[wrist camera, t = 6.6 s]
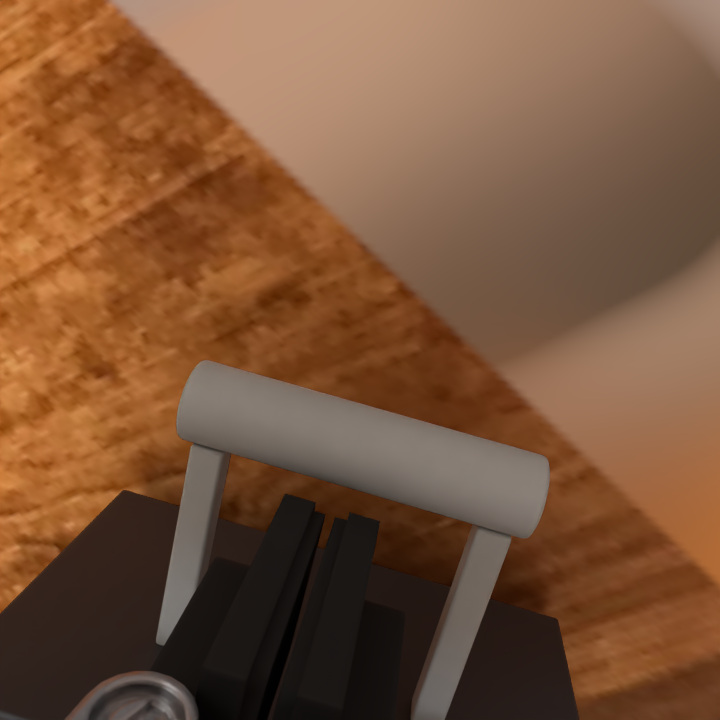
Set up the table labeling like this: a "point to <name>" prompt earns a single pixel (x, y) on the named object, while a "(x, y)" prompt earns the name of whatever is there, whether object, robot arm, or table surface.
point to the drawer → (240, 543)
